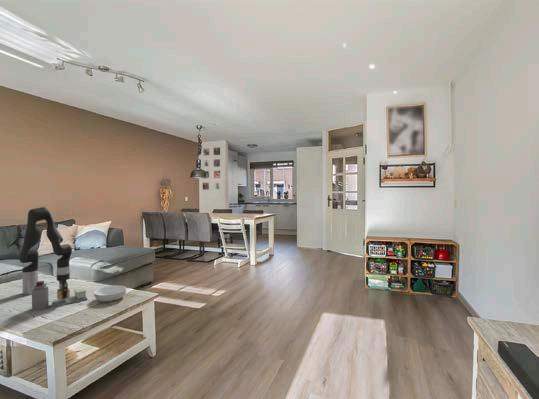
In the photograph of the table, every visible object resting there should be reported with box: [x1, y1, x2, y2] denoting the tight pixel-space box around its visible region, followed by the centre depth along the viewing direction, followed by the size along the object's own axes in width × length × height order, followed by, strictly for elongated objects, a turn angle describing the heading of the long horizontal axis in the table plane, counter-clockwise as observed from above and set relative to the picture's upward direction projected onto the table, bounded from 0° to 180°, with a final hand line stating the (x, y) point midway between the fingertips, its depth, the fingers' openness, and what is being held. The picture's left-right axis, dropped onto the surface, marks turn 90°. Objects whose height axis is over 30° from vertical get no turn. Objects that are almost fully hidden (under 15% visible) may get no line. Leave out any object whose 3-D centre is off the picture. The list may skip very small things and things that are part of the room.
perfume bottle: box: [31, 280, 49, 312], centre depth 186 cm, size 7×7×18 cm
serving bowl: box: [93, 285, 128, 302], centre depth 203 cm, size 21×21×7 cm
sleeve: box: [56, 287, 71, 300], centre depth 196 cm, size 6×6×6 cm
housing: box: [73, 287, 87, 299], centre depth 203 cm, size 9×6×5 cm, turn 48°
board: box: [52, 295, 88, 308], centre depth 199 cm, size 12×18×6 cm, turn 138°
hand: (63, 296), depth 196 cm, fingers closed on sleeve, 6 cm apart
